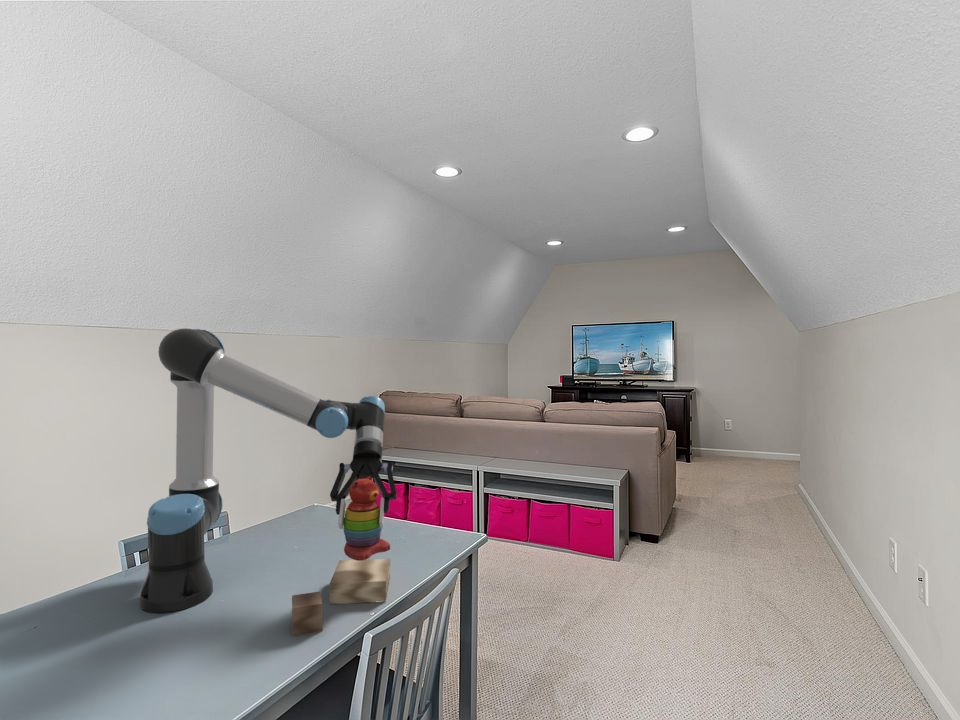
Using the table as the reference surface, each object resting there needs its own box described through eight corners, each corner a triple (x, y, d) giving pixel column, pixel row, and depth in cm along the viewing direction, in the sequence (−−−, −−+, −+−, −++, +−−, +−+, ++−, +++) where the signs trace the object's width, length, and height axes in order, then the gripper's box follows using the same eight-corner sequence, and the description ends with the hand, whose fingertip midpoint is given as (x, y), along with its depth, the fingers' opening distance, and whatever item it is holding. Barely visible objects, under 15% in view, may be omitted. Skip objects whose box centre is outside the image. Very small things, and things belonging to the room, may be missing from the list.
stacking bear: (359, 562, 123) (360, 487, 122) (332, 552, 129) (333, 479, 128) (394, 548, 131) (394, 478, 131) (367, 539, 137) (367, 471, 137)
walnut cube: (292, 636, 110) (292, 608, 109) (292, 622, 115) (292, 595, 115) (322, 631, 112) (322, 603, 112) (320, 617, 117) (320, 591, 117)
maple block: (329, 604, 123) (329, 583, 123) (339, 579, 136) (339, 560, 136) (385, 601, 124) (385, 581, 124) (390, 577, 137) (390, 558, 137)
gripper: (409, 453, 146) (407, 530, 130) (329, 455, 144) (317, 534, 128) (408, 438, 140) (405, 516, 125) (325, 439, 138) (312, 519, 123)
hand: (361, 525), depth 127 cm, fingers closed on stacking bear, 9 cm apart
